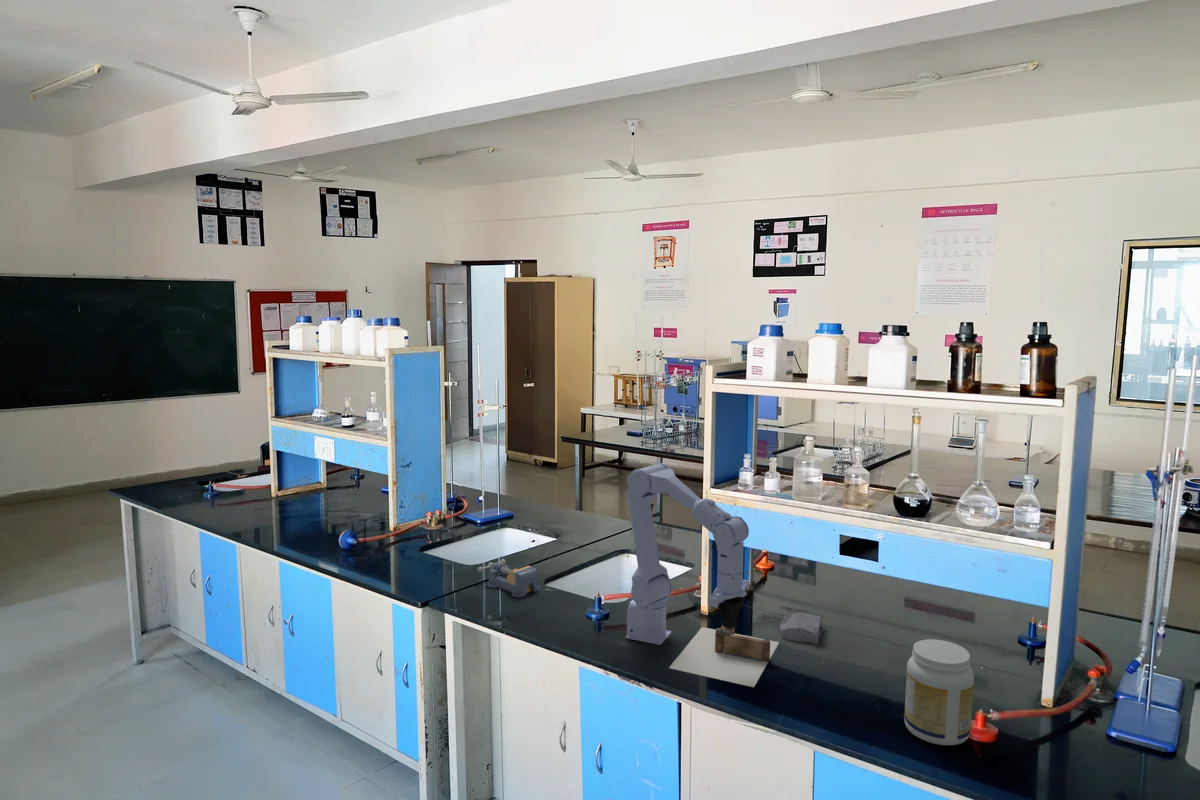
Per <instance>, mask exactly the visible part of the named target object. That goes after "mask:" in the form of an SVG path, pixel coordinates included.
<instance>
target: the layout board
mask: <svg viewBox="0 0 1200 800" xmlns="http://www.w3.org/2000/svg"><path fill="white" fill-rule="evenodd" d="M715 633H716V628H715V629H714V628H709V627H701V628H699V630H698V631H697V632H696V634H695V635H694V636H693V638H691V640H690V641H689V642H688V644H687V645H686V646H685V648H684V649H683V650H682V651H681V652H680V654H679V655H678V656H677V657H676V658H675V660H674V661H673V662H672V663H671V665H670V666H669V667H668V669H671V670H676V671H679V672H684V673H688V674H693V675H698V676H701V677H706V678H710V679H714V680H719V681H725V682H729V683H733V684H737V685H742V686H747V687H751V688H755V686H756V685H757V683H758V681H759V679H760V677H761V676H762V674H763V672H764V671H765V668H766V666H767V665H768V663H769V662H770V661H767V662H765V661H762V660H759V659H754V658H748V657H743V656H738V655H733V654H728V653H725V647H724V648H723V653H716V652H715ZM734 635H739V636H745V637H750V638H756V639H761V640H766V639H765V638H764V639H763V638H760V637H755V636H750V635H746V634H745V635H743V634H739V633H734ZM768 640H769V641H770V659H771V658H772V656H773V655H774V653H775V651H776V649H777V647H778V645H779V644H780V642H779V641H775V640H770V639H768Z"/></svg>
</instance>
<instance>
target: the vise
mask: <svg viewBox="0 0 1200 800" xmlns="http://www.w3.org/2000/svg"><path fill="white" fill-rule="evenodd" d="M488 568H489V569H488ZM486 569H488V582H487V583H486V584H487V587H488V588H493V589H494V588H499V589H501V590H504V591H507V592H509V593H511V597H514V598H524V597H526V596H528V593H530V592H533V593H536V592H538V591H540V590H541V586H540V584H539V583H540V581H539V580H540V579H539V572H538V570H537V568H535V567H533V566H530V565H526V566H523V567H520V568H514V569H511V567H510V566H509V565H507V564H506V560H505V559H503V558H502V559H501V560H500V561H498V562H495V563H494V562H491V561H489V562H488V564H487V566H484V567H483V566H478V567H477V571H478V573H481V572H483V571H484V570H486Z"/></svg>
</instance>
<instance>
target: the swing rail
mask: <svg viewBox="0 0 1200 800" xmlns="http://www.w3.org/2000/svg"><path fill="white" fill-rule="evenodd" d="M715 630H716V634H719V635H721V634H725V653H728V654H733V655H738V656H743V657H748V658H754V659H759V660H762V661H765V662H767V661H769V662H770V660H771V658H770V641H771V640H770V639H765V640H761V639H762V638H760V639H756V638H757V637H755V638H750V637H751V636H750V637H745V636H746V635H745V636H739V635H734V634H731V631H726V630H723V629H722V628H721V627H718V628H715ZM769 640H770V641H769Z"/></svg>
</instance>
